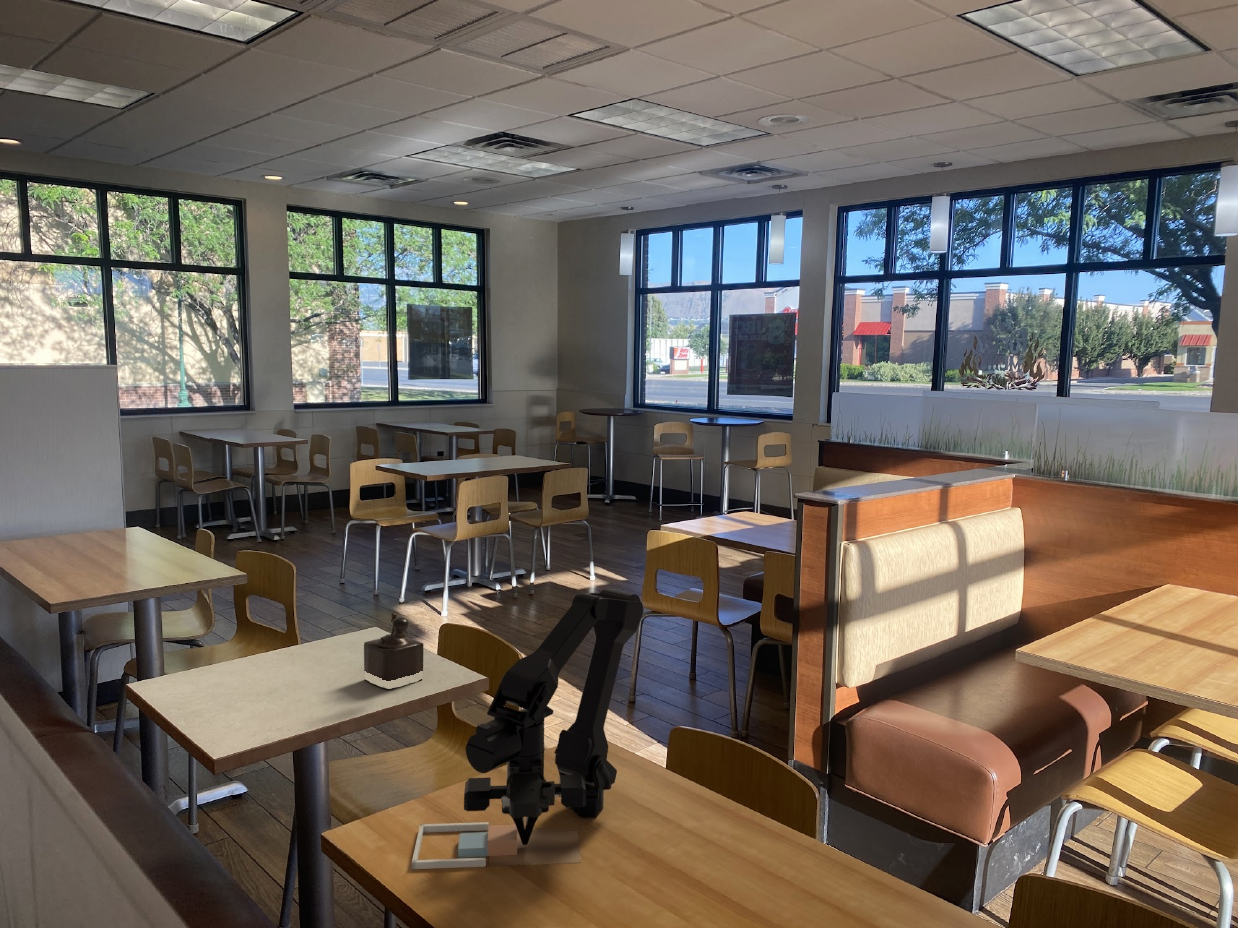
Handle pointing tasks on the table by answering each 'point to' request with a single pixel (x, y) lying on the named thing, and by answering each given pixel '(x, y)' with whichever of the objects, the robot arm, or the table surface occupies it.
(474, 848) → the slate tile
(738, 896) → the table surface
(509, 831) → the terracotta tile
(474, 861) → the tray
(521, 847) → the board
